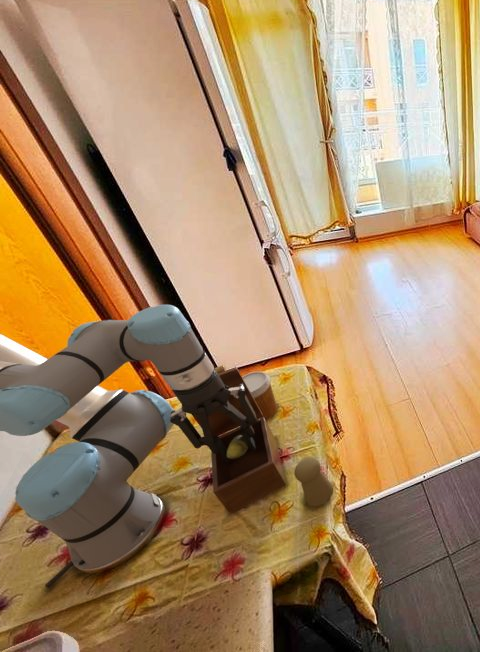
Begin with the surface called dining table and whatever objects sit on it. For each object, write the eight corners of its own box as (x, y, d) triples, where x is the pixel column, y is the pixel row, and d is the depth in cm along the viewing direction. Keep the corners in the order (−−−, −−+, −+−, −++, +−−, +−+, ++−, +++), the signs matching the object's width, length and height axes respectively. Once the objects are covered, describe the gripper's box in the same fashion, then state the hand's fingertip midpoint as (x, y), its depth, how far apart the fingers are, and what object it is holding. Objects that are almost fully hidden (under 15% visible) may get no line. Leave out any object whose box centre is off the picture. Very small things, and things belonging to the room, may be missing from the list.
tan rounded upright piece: (323, 475, 87) (310, 447, 81) (338, 490, 83) (325, 462, 78) (300, 495, 83) (284, 467, 77) (314, 512, 80) (299, 483, 74)
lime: (230, 465, 81) (220, 452, 78) (230, 449, 84) (221, 435, 82) (252, 456, 82) (243, 442, 80) (251, 441, 86) (243, 427, 83)
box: (286, 485, 85) (273, 462, 81) (230, 514, 80) (213, 492, 76) (275, 438, 97) (263, 416, 92) (226, 461, 92) (210, 439, 87)
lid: (236, 369, 82) (234, 353, 86) (175, 392, 77) (175, 374, 81) (263, 416, 91) (259, 400, 96) (209, 439, 86) (208, 422, 91)
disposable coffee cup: (248, 406, 107) (231, 377, 100) (282, 395, 110) (268, 366, 104) (246, 430, 100) (228, 400, 93) (283, 417, 103) (268, 387, 96)
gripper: (135, 411, 64) (196, 486, 77) (245, 370, 72) (284, 443, 84) (140, 386, 70) (196, 459, 82) (241, 350, 77) (278, 422, 90)
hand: (240, 451), depth 83 cm, fingers closed on lime, 5 cm apart
